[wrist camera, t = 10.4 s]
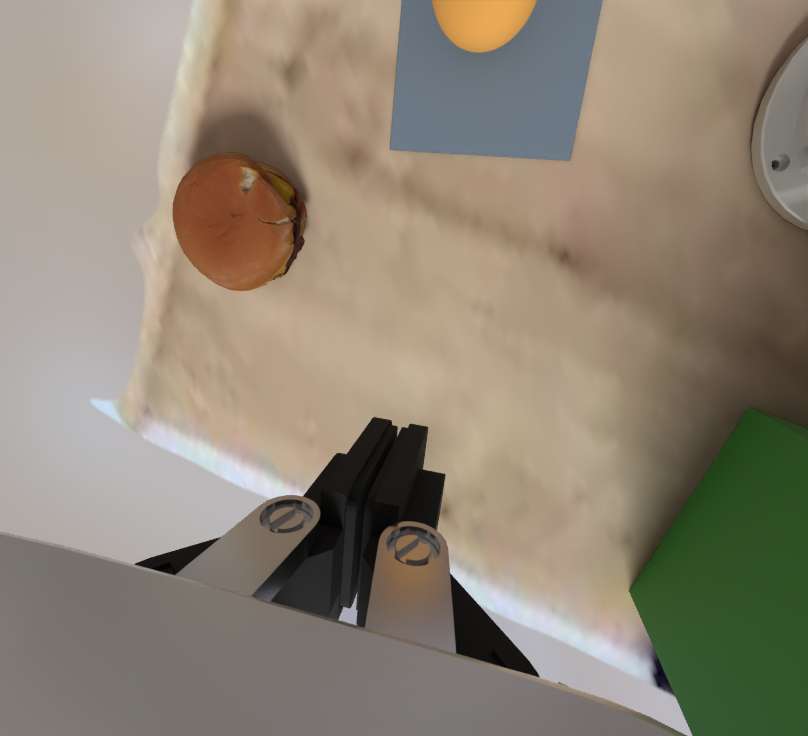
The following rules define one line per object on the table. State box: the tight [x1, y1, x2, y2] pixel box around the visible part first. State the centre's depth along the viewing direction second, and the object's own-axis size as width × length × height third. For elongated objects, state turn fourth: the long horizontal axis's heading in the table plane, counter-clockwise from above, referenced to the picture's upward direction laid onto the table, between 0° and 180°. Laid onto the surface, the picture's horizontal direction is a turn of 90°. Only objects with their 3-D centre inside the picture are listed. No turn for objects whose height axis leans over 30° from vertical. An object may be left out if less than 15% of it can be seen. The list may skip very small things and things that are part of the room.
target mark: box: [390, 0, 602, 161], centre depth 24 cm, size 12×12×1 cm
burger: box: [173, 152, 307, 291], centre depth 28 cm, size 10×9×5 cm
